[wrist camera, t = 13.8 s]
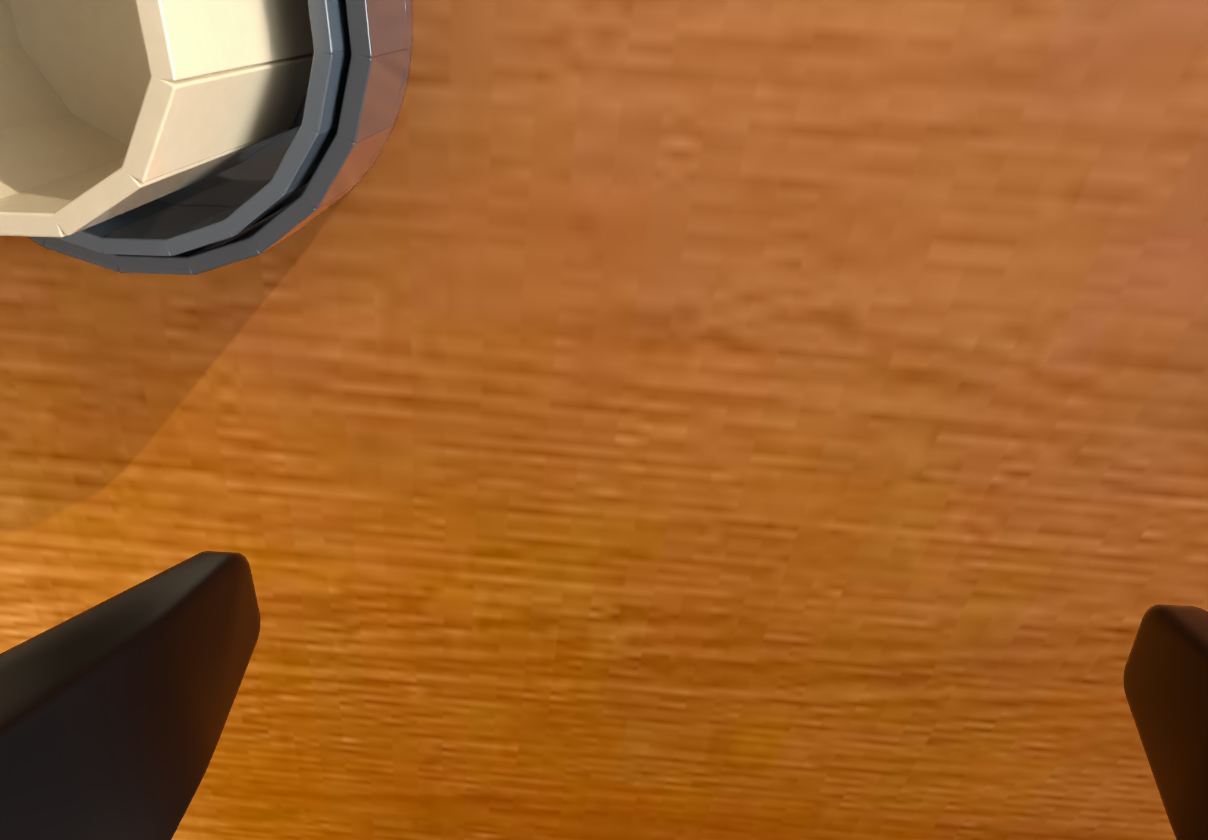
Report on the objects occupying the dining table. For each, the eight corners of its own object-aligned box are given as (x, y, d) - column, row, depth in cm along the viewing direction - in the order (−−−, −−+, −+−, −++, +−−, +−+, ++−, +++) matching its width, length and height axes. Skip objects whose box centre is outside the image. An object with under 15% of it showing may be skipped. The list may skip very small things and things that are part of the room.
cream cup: (336, 170, 20) (207, 242, 14) (52, 163, 20) (-175, 231, 15) (292, -185, 17) (109, -262, 11) (-39, -184, 17) (-365, -258, 12)
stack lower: (431, 243, 21) (394, 282, 18) (19, 231, 22) (-75, 266, 19) (388, -300, 16) (330, -355, 14) (-133, -294, 17) (-284, -345, 14)
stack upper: (406, 219, 21) (357, 262, 18) (34, 209, 21) (-77, 249, 18) (362, -263, 17) (287, -319, 14) (-95, -259, 17) (-267, -311, 14)
